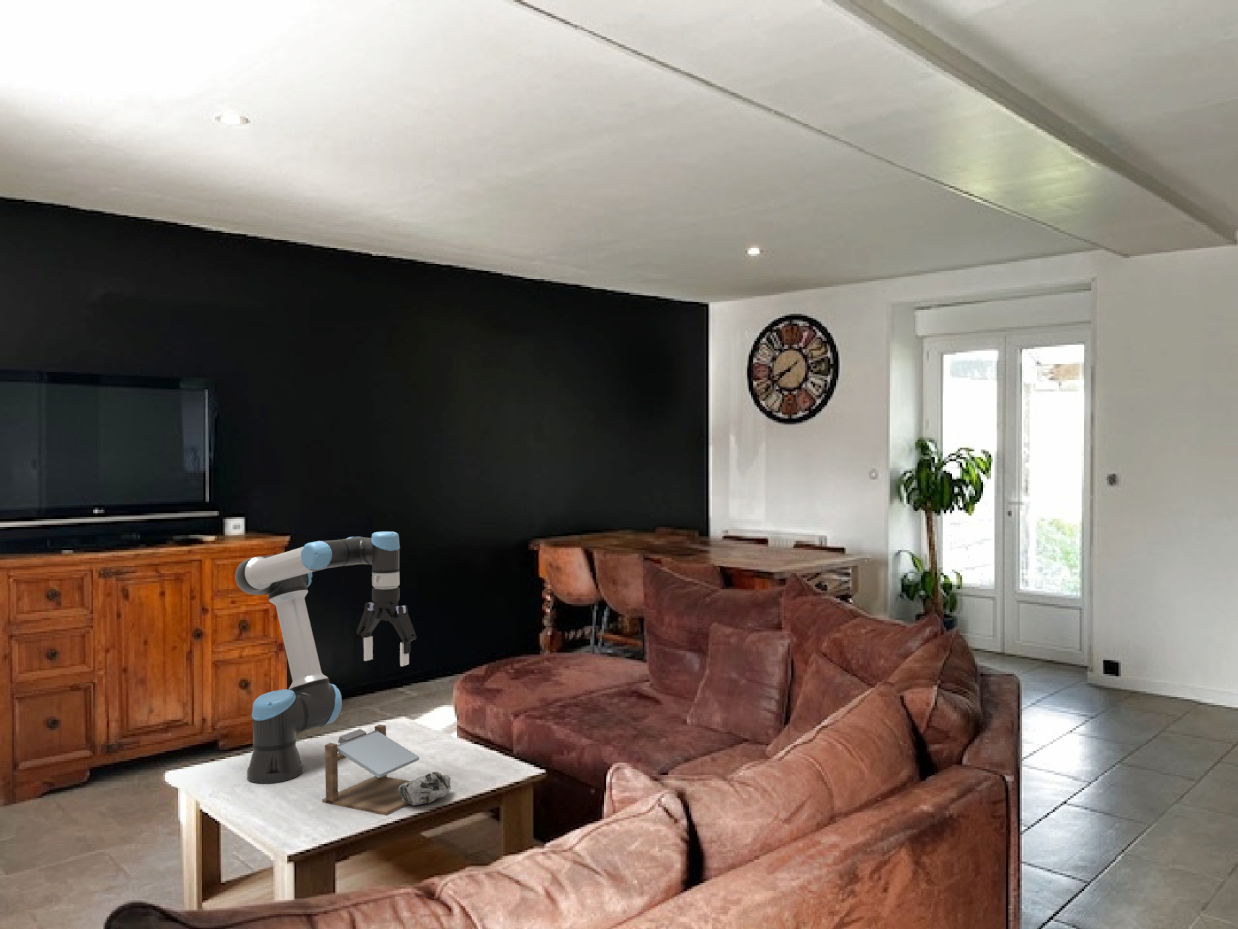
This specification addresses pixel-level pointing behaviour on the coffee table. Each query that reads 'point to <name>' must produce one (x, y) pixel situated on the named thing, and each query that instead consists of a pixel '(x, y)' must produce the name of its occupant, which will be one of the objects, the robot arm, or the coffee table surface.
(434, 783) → the rock
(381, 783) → the frame
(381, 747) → the trapdoor
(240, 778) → the coffee table surface
